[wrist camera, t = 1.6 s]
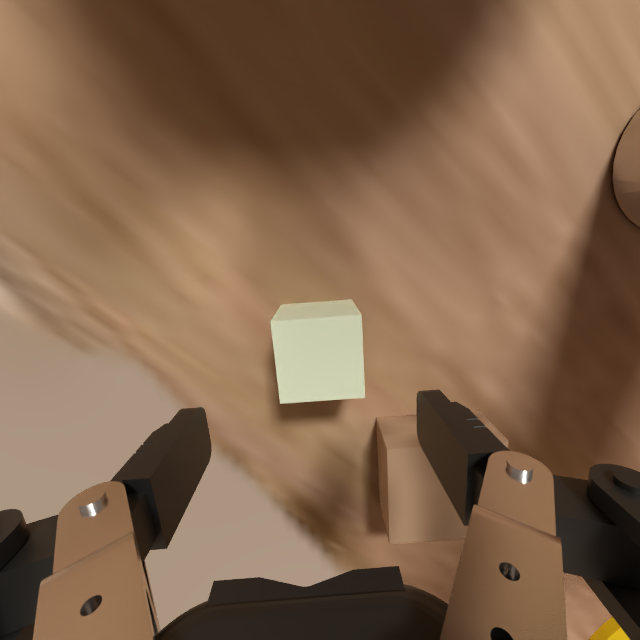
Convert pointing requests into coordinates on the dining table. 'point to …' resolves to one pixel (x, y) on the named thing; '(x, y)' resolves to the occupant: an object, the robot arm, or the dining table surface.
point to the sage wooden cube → (318, 351)
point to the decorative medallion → (610, 632)
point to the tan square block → (414, 485)
